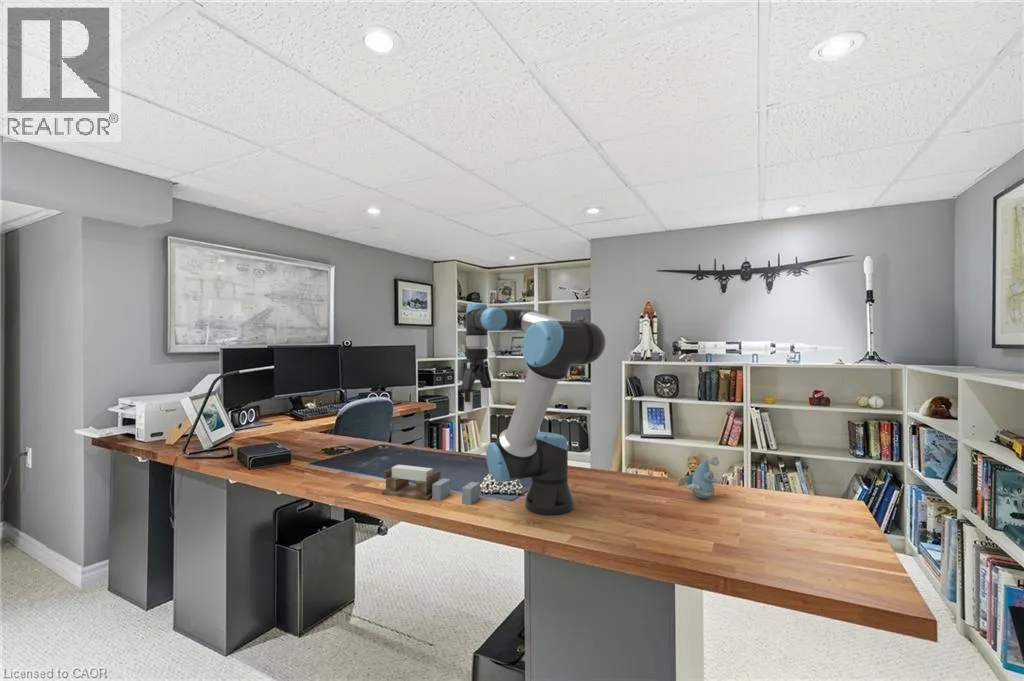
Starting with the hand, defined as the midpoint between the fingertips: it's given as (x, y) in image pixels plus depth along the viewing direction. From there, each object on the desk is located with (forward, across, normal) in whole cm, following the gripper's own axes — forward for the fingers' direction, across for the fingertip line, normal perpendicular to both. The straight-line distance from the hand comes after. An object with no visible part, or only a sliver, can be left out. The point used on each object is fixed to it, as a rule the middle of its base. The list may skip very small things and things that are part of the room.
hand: (476, 408), depth 164 cm
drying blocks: (+29, +10, -3) cm, 31 cm away
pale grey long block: (+24, +10, -20) cm, 33 cm away
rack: (+29, +10, -20) cm, 36 cm away
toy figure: (+29, -20, +74) cm, 82 cm away
